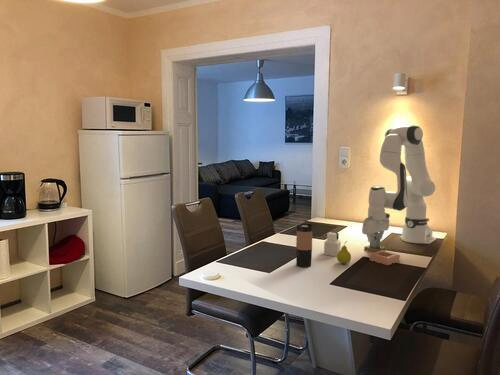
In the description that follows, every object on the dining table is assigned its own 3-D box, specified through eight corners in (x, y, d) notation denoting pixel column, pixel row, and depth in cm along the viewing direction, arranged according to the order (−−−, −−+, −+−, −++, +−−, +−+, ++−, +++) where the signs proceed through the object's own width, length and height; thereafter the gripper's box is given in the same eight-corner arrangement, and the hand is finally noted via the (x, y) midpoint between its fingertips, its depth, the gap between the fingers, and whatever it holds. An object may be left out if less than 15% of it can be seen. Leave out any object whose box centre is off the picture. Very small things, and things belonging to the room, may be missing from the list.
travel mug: (311, 268, 193) (312, 227, 191) (295, 267, 195) (296, 226, 192) (311, 263, 201) (312, 223, 198) (296, 262, 202) (297, 223, 199)
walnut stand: (372, 247, 229) (372, 244, 229) (385, 251, 223) (385, 247, 223) (364, 250, 224) (364, 246, 224) (376, 253, 218) (376, 249, 218)
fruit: (333, 262, 203) (334, 238, 201) (345, 260, 205) (346, 237, 204) (341, 266, 197) (342, 242, 195) (353, 264, 199) (354, 241, 197)
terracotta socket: (381, 256, 213) (381, 250, 212) (399, 261, 205) (399, 254, 204) (369, 260, 206) (369, 253, 206) (387, 265, 198) (388, 258, 198)
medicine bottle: (327, 251, 221) (328, 230, 220) (340, 253, 218) (341, 231, 217) (323, 254, 215) (324, 232, 214) (337, 256, 212) (337, 234, 210)
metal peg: (373, 245, 226) (374, 231, 225) (380, 247, 223) (380, 233, 222) (369, 246, 224) (370, 232, 223) (375, 248, 221) (376, 234, 220)
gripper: (369, 218, 212) (368, 244, 214) (391, 214, 225) (390, 238, 227) (359, 216, 217) (358, 241, 219) (381, 212, 230) (380, 236, 232)
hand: (375, 240), depth 223 cm, fingers open, 8 cm apart
